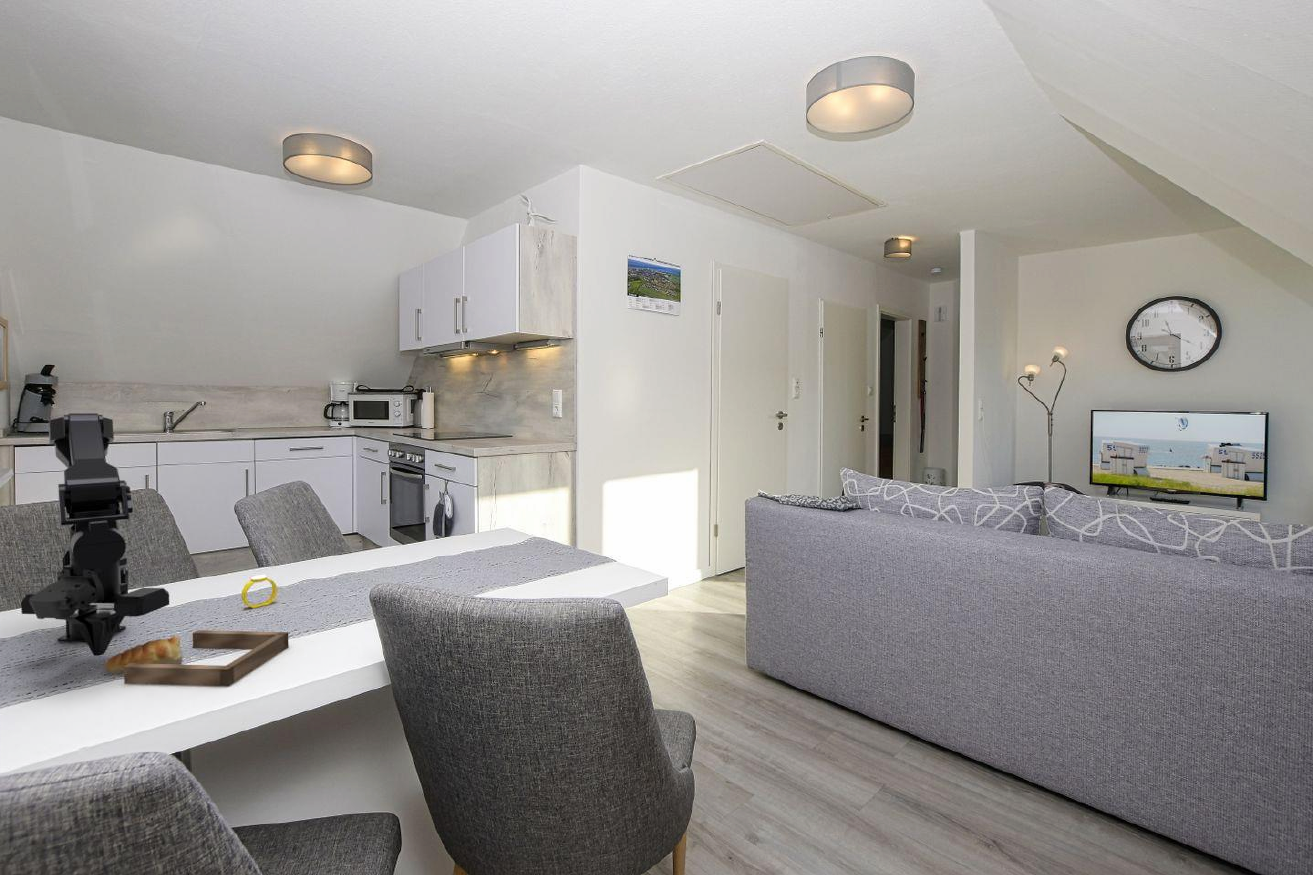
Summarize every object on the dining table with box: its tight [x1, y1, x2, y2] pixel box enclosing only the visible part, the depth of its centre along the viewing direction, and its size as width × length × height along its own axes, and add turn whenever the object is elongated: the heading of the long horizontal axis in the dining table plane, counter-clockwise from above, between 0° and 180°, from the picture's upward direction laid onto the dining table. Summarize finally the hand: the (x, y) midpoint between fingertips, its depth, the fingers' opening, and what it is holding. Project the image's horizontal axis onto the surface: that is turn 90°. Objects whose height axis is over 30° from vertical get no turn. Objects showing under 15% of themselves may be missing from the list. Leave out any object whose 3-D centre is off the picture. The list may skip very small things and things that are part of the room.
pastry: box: [104, 635, 183, 675], centre depth 97 cm, size 9×7×4 cm
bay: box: [123, 629, 289, 687], centre depth 98 cm, size 15×14×2 cm
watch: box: [241, 574, 278, 609], centre depth 125 cm, size 6×3×6 cm, turn 145°
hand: (99, 654), depth 98 cm, fingers closed
